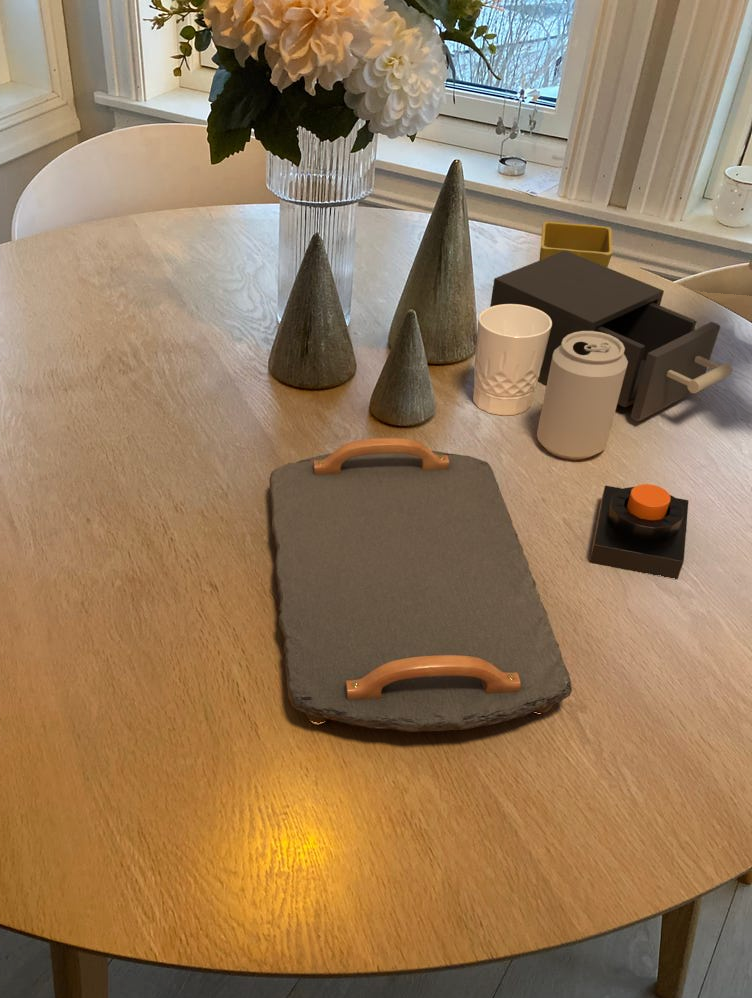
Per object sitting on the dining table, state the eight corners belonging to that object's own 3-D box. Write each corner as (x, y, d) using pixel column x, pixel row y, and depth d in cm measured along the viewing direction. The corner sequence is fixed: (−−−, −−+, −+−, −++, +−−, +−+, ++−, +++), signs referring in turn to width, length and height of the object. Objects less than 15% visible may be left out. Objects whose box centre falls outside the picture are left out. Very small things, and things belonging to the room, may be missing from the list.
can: (535, 423, 112) (555, 323, 103) (604, 429, 110) (630, 329, 102) (534, 460, 106) (555, 357, 98) (606, 467, 105) (634, 364, 97)
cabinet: (643, 366, 120) (664, 290, 114) (575, 400, 115) (593, 322, 108) (550, 323, 129) (564, 250, 122) (483, 353, 123) (494, 278, 117)
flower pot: (597, 292, 135) (612, 225, 129) (597, 321, 129) (613, 253, 123) (531, 286, 137) (543, 220, 130) (528, 315, 131) (540, 247, 124)
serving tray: (581, 743, 78) (598, 689, 74) (288, 758, 77) (288, 704, 73) (481, 465, 106) (489, 414, 101) (264, 474, 105) (263, 423, 101)
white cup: (536, 421, 112) (553, 339, 105) (466, 416, 113) (477, 334, 106) (535, 386, 117) (551, 306, 110) (468, 381, 118) (479, 301, 112)
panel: (600, 503, 101) (609, 470, 98) (682, 518, 99) (693, 484, 96) (589, 562, 94) (598, 529, 91) (677, 580, 92) (689, 546, 89)
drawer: (732, 403, 112) (755, 339, 107) (670, 437, 108) (691, 372, 102) (606, 345, 123) (621, 283, 117) (545, 374, 118) (557, 311, 112)
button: (628, 496, 96) (632, 481, 94) (667, 503, 95) (672, 487, 93) (624, 517, 93) (629, 502, 92) (664, 524, 92) (669, 509, 91)
